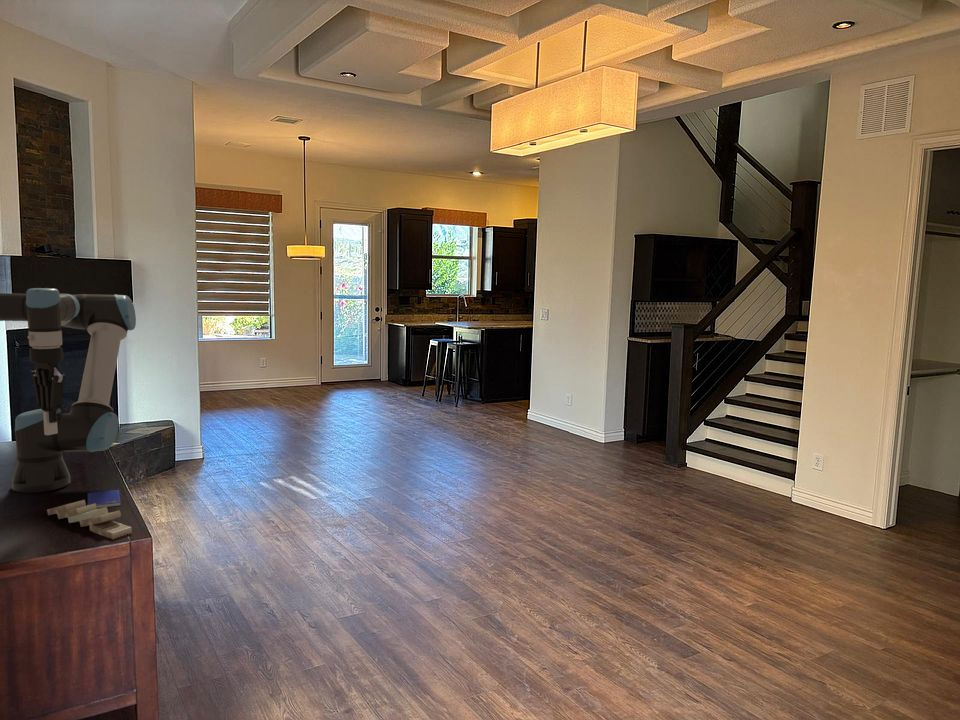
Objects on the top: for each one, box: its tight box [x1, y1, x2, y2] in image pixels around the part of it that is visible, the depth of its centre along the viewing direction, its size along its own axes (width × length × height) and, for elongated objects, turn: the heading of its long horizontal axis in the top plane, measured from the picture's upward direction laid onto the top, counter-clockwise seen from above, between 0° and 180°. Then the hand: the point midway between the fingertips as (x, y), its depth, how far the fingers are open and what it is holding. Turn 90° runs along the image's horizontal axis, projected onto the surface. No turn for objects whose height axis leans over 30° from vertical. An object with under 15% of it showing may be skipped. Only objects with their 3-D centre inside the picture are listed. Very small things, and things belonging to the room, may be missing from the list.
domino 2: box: [56, 503, 98, 520], centre depth 186 cm, size 2×5×10 cm
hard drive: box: [86, 489, 121, 509], centre depth 202 cm, size 2×8×12 cm
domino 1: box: [46, 499, 87, 516], centre depth 189 cm, size 2×5×10 cm
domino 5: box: [88, 520, 133, 540], centre depth 179 cm, size 2×5×10 cm
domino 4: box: [78, 510, 122, 528], centre depth 181 cm, size 2×5×10 cm
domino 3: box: [67, 507, 109, 524], centre depth 183 cm, size 2×5×10 cm
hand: (51, 433), depth 189 cm, fingers closed
